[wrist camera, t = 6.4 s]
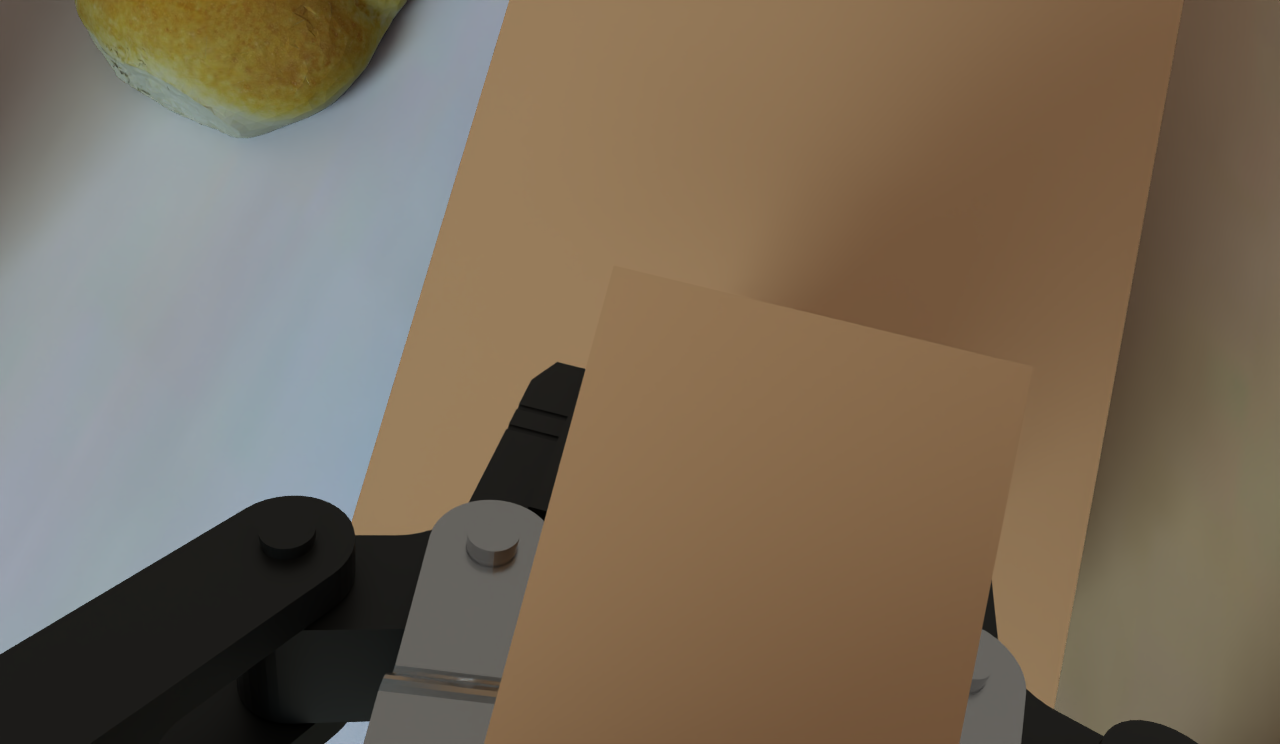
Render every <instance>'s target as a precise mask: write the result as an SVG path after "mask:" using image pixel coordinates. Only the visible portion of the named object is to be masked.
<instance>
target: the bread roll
mask: <svg viewBox="0 0 1280 744" xmlns="http://www.w3.org/2000/svg"><path fill="white" fill-rule="evenodd" d="M406 2H407V0H75V5H76V9H77V12H78V15H79V17H80V19H81V21H82V22H83V24H84V26H85V27H86V28H87V29H88V32H89V34H90V37H91V38H92V40H93V42H94V43H95V45H96V47H97V48H98V49H99V50H100V51H101V52H102V54H103V55H104V56H105V58H106V59H107V61H108V63H109V64H110V66H111V67H112V68H113V69H114V71H115V73H116V76H117V77H118V78H119V79H121V80H122V81H124V82H126V83H128V84H129V85H130V86H131V87H133V88H135V89H136V90H137V91H140V92H141V93H143V94H145V95H146V96H148V97H150V98H151V99H153V100H155V101H156V102H158V103H160V104H161V105H163V106H164V107H166V108H168V109H169V110H171V111H173V112H175V113H177V114H179V115H181V116H184V117H187V118H190V119H191V120H194V121H196V122H198V123H199V124H201V125H205V126H208V127H211V128H214V129H218V130H219V131H221V132H222V133H225V134H228V135H229V136H232V137H236V138H251V137H255V136H259V135H263V134H266V133H269V132H271V131H274V130H276V129H279V128H281V127H284V126H286V125H289V124H292V123H295V122H298V121H300V120H303V119H305V118H308V117H310V116H312V115H314V114H316V113H318V112H320V111H321V110H323V109H325V108H327V107H328V106H330V105H331V104H333V103H334V102H335V101H336V100H337V99H338V98H339V97H340V96H341V95H342V94H343V93H344V92H345V91H346V90H347V89H348V88H349V87H350V86H351V85H352V84H353V82H354V81H355V80H356V79H357V78H358V77H359V76H360V74H361V73H362V72H363V71H364V70H365V69H366V67H367V65H368V63H369V62H370V60H371V58H372V56H373V54H374V52H375V50H376V48H377V46H378V44H379V43H380V41H381V39H382V37H383V35H384V34H385V32H386V31H387V29H388V28H389V26H390V24H391V22H392V20H393V19H394V18H395V16H396V15H397V14H398V12H399V11H400V10H401V8H402V7H403V6H404V5H405V3H406Z"/></svg>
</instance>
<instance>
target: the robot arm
mask: <svg viewBox="0 0 1280 744" xmlns="http://www.w3.org/2000/svg"><path fill="white" fill-rule="evenodd" d="M584 373H585V369H584V368H580V367H576V366H572V365H568V364H564V363H560V362H556V363H555V364H553V365H552V366H550V367H549V368H548V369H546V370H545V371H543V372H542V373H540V374H539V375H537V376H536V377H534V378H533V379H532V380H531V381H530V383H529V385H528V387H527V389H526V391H525V393H524V395H523V397H522V399H521V401H520V403H519V406H518V409H516V411H515V413H514V415H513V417H512V419H511V421H510V423H509V426H508V429H506V430H505V432H504V434H503V436H502V438H501V440H500V442H499V444H498V446H497V448H496V450H495V452H494V454H493V456H492V458H491V460H490V462H489V464H488V466H487V468H486V470H485V472H484V473H483V475H482V477H481V479H480V481H479V483H478V485H477V487H476V489H475V491H474V493H473V495H472V497H471V499H470V501H469V502H468V503H465V504H462V505H460V506H457V507H455V508H453V509H451V510H450V511H448V512H447V513H445V514H444V515H443V516H442V517H441V518H440V519H439V520H438V521H437V523H436V524H435V525H434V527H433V529H432V530H428V531H425V532H421V533H415V534H409V535H355V532H354V527H353V525H352V523H351V521H350V519H349V518H348V517H347V516H346V514H345V513H344V512H342V511H341V510H340V509H339V508H337V507H336V506H334V505H332V504H331V503H328V502H326V501H323V500H321V499H317V498H312V497H306V496H283V497H276V498H271V499H267V500H264V501H261V502H258V503H256V504H254V505H252V506H250V507H248V508H246V509H244V510H242V511H241V512H239V513H237V514H236V515H234V516H232V517H231V518H229V519H227V520H226V521H224V522H222V523H220V524H219V525H217V526H215V527H214V528H212V529H210V530H209V531H207V532H205V533H204V534H202V535H200V536H199V537H197V538H195V539H194V540H192V541H190V542H189V543H187V544H185V545H183V546H182V547H180V548H178V549H177V550H175V551H173V552H172V553H170V554H168V555H167V556H165V557H163V558H162V559H160V560H158V561H157V562H155V563H153V564H152V565H150V566H148V567H147V568H145V569H143V570H141V571H140V572H138V573H136V574H135V575H133V576H131V577H130V578H128V579H126V580H125V581H123V582H121V583H120V584H118V585H116V586H115V587H113V588H111V589H110V590H108V591H106V592H104V593H103V594H101V595H99V596H98V597H96V598H94V599H93V600H91V601H89V602H88V603H86V604H84V605H83V606H81V607H79V608H78V609H76V610H74V611H73V612H71V613H69V614H67V615H66V616H64V617H62V618H61V619H59V620H57V621H56V622H54V623H52V624H51V625H49V626H47V627H46V628H44V629H42V630H41V631H39V632H37V633H36V634H34V635H32V636H31V637H29V638H27V639H25V640H24V641H22V642H20V643H19V644H17V645H15V646H14V647H12V648H10V649H9V650H7V651H5V652H4V653H2V654H0V744H324V743H326V742H327V741H328V740H329V739H330V738H332V737H333V736H334V735H335V734H336V733H337V732H338V731H339V730H341V729H342V728H343V727H344V725H345V724H346V723H347V722H363V721H370V722H369V726H368V730H367V733H366V737H365V740H364V744H484V741H485V738H486V734H487V730H488V727H489V723H490V719H491V716H492V712H493V708H494V705H495V701H496V697H497V694H498V690H499V686H500V683H501V679H502V675H503V672H504V668H505V664H506V660H507V657H508V653H509V649H510V646H511V642H512V638H513V635H514V631H515V627H516V624H517V620H518V616H519V613H520V609H521V605H522V602H523V598H524V594H525V590H526V587H527V583H528V579H529V576H530V572H531V568H532V565H533V561H534V557H535V554H536V550H537V546H538V543H539V539H540V535H541V532H542V528H543V524H544V520H545V517H546V513H547V509H548V506H549V502H550V498H551V495H552V491H553V487H554V484H555V480H556V476H557V473H558V469H559V465H560V462H561V458H562V454H563V450H564V447H565V443H566V439H567V436H568V432H569V428H570V425H571V421H572V417H573V414H574V410H575V406H576V403H577V399H578V395H579V392H580V388H581V384H582V381H583V377H584ZM959 744H1198V743H1196V742H1195V741H1193V740H1192V739H1190V738H1189V737H1187V736H1185V735H1184V734H1182V733H1180V732H1178V731H1176V730H1174V729H1172V728H1169V727H1167V726H1164V725H1161V724H1158V723H1154V722H1149V721H1142V720H1130V721H1125V722H1121V723H1119V724H1117V725H1114V726H1113V727H1112V728H1110V729H1109V730H1108V731H1107V732H1106V734H1105V735H1104V736H1102V735H1100V734H1098V733H1096V732H1095V731H1093V730H1091V729H1089V728H1087V727H1085V726H1083V725H1082V724H1080V723H1078V722H1076V721H1074V720H1072V719H1070V718H1069V717H1067V716H1065V715H1063V714H1061V713H1059V712H1057V711H1056V710H1054V709H1053V708H1051V707H1049V706H1048V705H1046V704H1045V703H1043V702H1042V701H1041V700H1039V699H1038V698H1036V697H1035V696H1034V695H1033V694H1032V693H1031V692H1030V691H1028V690H1027V689H1026V683H1025V678H1024V675H1023V672H1022V670H1021V668H1020V665H1019V664H1018V662H1017V661H1016V659H1015V657H1014V656H1013V655H1012V654H1011V652H1010V651H1009V650H1008V649H1007V648H1006V647H1005V646H1004V645H1003V644H1002V643H1001V642H1000V641H999V640H998V634H997V625H996V615H995V606H994V597H993V587H992V580H991V585H990V590H989V596H988V601H987V606H986V611H985V616H984V621H983V626H982V631H981V636H980V641H979V646H978V651H977V656H976V661H975V667H974V672H973V677H972V682H971V687H970V692H969V697H968V702H967V707H966V712H965V717H964V722H963V727H962V732H961V738H960V743H959Z"/></svg>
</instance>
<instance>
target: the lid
mask: <svg viewBox="0 0 1280 744" xmlns="http://www.w3.org/2000/svg"><path fill="white" fill-rule="evenodd" d="M1183 3H1184V0H509V4H508V7H507V10H506V13H505V17H504V20H503V23H502V27H501V30H500V33H499V37H498V40H497V43H496V46H495V50H494V53H493V56H492V60H491V63H490V66H489V70H488V73H487V76H486V80H485V83H484V86H483V89H482V93H481V96H480V99H479V103H478V106H477V109H476V113H475V116H474V119H473V122H472V126H471V129H470V132H469V136H468V139H467V142H466V146H465V149H464V152H463V156H462V159H461V162H460V165H459V169H458V172H457V175H456V179H455V182H454V185H453V189H452V192H451V195H450V198H449V202H448V205H447V208H446V212H445V215H444V218H443V222H442V225H441V228H440V232H439V235H438V238H437V241H436V245H435V248H434V251H433V255H432V258H431V261H430V265H429V268H428V271H427V274H426V278H425V281H424V284H423V288H422V291H421V294H420V298H419V301H418V304H417V308H416V311H415V314H414V317H413V321H412V324H411V327H410V331H409V334H408V337H407V341H406V344H405V347H404V350H403V354H402V357H401V360H400V364H399V367H398V370H397V374H396V377H395V380H394V384H393V387H392V390H391V393H390V397H389V400H388V403H387V407H386V410H385V413H384V417H383V420H382V423H381V426H380V430H379V433H378V436H377V440H376V443H375V446H374V450H373V453H372V456H371V459H370V463H369V466H368V469H367V473H366V476H365V479H364V483H363V486H362V489H361V493H360V496H359V499H358V502H357V506H356V509H355V512H354V516H353V519H352V522H351V523H352V525H353V527H354V532H355V535H409V534H415V533H421V532H425V531H428V530H432V529H433V527H434V525H435V524H436V523H437V521H438V520H439V519H440V518H441V517H442V516H443V515H444V514H445V513H447V512H448V511H450V510H451V509H453V508H455V507H457V506H460V505H462V504H465V503H468V502H469V501H470V499H471V497H472V495H473V493H474V491H475V489H476V487H477V485H478V483H479V481H480V479H481V477H482V475H483V473H484V472H485V470H486V468H487V466H488V464H489V462H490V460H491V458H492V456H493V454H494V452H495V450H496V448H497V446H498V444H499V442H500V440H501V438H502V436H503V434H504V432H505V430H506V429H508V426H509V423H510V421H511V419H512V417H513V415H514V413H515V411H516V409H518V406H519V403H520V401H521V399H522V397H523V395H524V393H525V391H526V389H527V387H528V385H529V383H530V381H531V380H532V379H533V378H534V377H536V376H537V375H539V374H540V373H542V372H543V371H545V370H546V369H548V368H549V367H550V366H552V365H553V364H555V363H556V362H560V363H564V364H568V365H572V366H576V367H580V368H584V369H585V373H584V377H583V381H582V384H581V388H580V392H579V395H578V399H577V403H576V406H575V410H574V414H573V417H572V421H571V425H570V428H569V432H568V436H567V439H566V443H565V447H564V450H563V454H562V458H561V462H560V465H559V469H558V473H557V476H556V480H555V484H554V487H553V491H552V495H551V498H550V502H549V506H548V509H547V513H546V517H545V520H544V524H543V528H542V532H541V535H540V539H539V543H538V546H537V550H536V554H535V557H534V561H533V565H532V568H531V572H530V576H529V579H528V583H527V587H526V590H525V594H524V598H523V602H522V605H521V609H520V613H519V616H518V620H517V624H516V627H515V631H514V635H513V638H512V642H511V646H510V649H509V653H508V657H507V660H506V664H505V668H504V672H503V675H502V679H501V683H500V686H499V690H498V694H497V697H496V701H495V705H494V708H493V712H492V716H491V719H490V723H489V727H488V730H487V734H486V738H485V741H484V744H959V743H960V738H961V732H962V727H963V722H964V717H965V712H966V707H967V702H968V697H969V692H970V687H971V682H972V677H973V672H974V667H975V661H976V656H977V651H978V646H979V641H980V636H981V631H982V626H983V621H984V616H985V611H986V606H987V601H988V596H989V590H990V585H991V580H992V587H993V597H994V606H995V615H996V625H997V634H998V640H999V641H1000V642H1001V643H1002V644H1003V645H1004V646H1005V647H1006V648H1007V649H1008V650H1009V651H1010V652H1011V654H1012V655H1013V656H1014V657H1015V659H1016V661H1017V662H1018V664H1019V665H1020V668H1021V670H1022V672H1023V675H1024V678H1025V683H1026V689H1027V690H1028V691H1030V692H1031V693H1032V694H1033V695H1034V696H1035V697H1036V698H1038V699H1039V700H1041V701H1042V702H1043V703H1045V704H1046V705H1048V706H1049V707H1051V708H1053V709H1054V706H1055V701H1056V695H1057V690H1058V684H1059V679H1060V674H1061V668H1062V663H1063V657H1064V652H1065V646H1066V641H1067V635H1068V630H1069V624H1070V619H1071V614H1072V608H1073V603H1074V597H1075V592H1076V586H1077V581H1078V575H1079V570H1080V564H1081V559H1082V554H1083V548H1084V543H1085V537H1086V532H1087V526H1088V521H1089V515H1090V510H1091V504H1092V499H1093V494H1094V488H1095V483H1096V477H1097V472H1098V466H1099V461H1100V455H1101V450H1102V444H1103V439H1104V434H1105V428H1106V423H1107V417H1108V412H1109V406H1110V401H1111V395H1112V390H1113V384H1114V379H1115V374H1116V368H1117V363H1118V357H1119V352H1120V346H1121V341H1122V335H1123V330H1124V324H1125V319H1126V314H1127V308H1128V303H1129V297H1130V292H1131V286H1132V281H1133V275H1134V270H1135V264H1136V259H1137V254H1138V248H1139V243H1140V237H1141V232H1142V226H1143V221H1144V215H1145V210H1146V205H1147V199H1148V194H1149V188H1150V183H1151V177H1152V172H1153V166H1154V161H1155V155H1156V150H1157V145H1158V139H1159V134H1160V128H1161V123H1162V117H1163V112H1164V106H1165V101H1166V95H1167V90H1168V85H1169V79H1170V74H1171V68H1172V63H1173V57H1174V52H1175V46H1176V41H1177V35H1178V30H1179V25H1180V19H1181V14H1182V8H1183Z"/></svg>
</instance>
